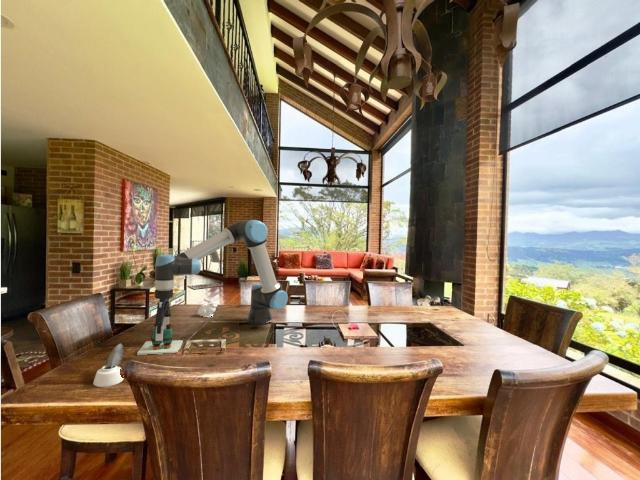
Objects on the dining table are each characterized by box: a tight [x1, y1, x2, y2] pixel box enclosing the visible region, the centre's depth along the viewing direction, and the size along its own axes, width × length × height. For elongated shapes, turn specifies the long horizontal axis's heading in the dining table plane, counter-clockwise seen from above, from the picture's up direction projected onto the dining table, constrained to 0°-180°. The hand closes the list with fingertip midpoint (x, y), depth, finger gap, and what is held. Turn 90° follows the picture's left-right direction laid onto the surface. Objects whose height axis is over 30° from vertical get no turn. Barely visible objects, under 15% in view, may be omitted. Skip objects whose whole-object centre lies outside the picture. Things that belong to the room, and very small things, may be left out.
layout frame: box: [183, 338, 227, 350], centre depth 155 cm, size 18×17×1 cm
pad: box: [136, 339, 184, 356], centre depth 150 cm, size 16×15×1 cm
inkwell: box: [92, 343, 125, 388], centre depth 121 cm, size 9×18×10 cm, turn 18°
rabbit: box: [197, 297, 218, 318], centre depth 207 cm, size 12×9×12 cm
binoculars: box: [150, 323, 173, 350], centre depth 150 cm, size 9×11×10 cm
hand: (162, 335), depth 150 cm, fingers open, 13 cm apart
